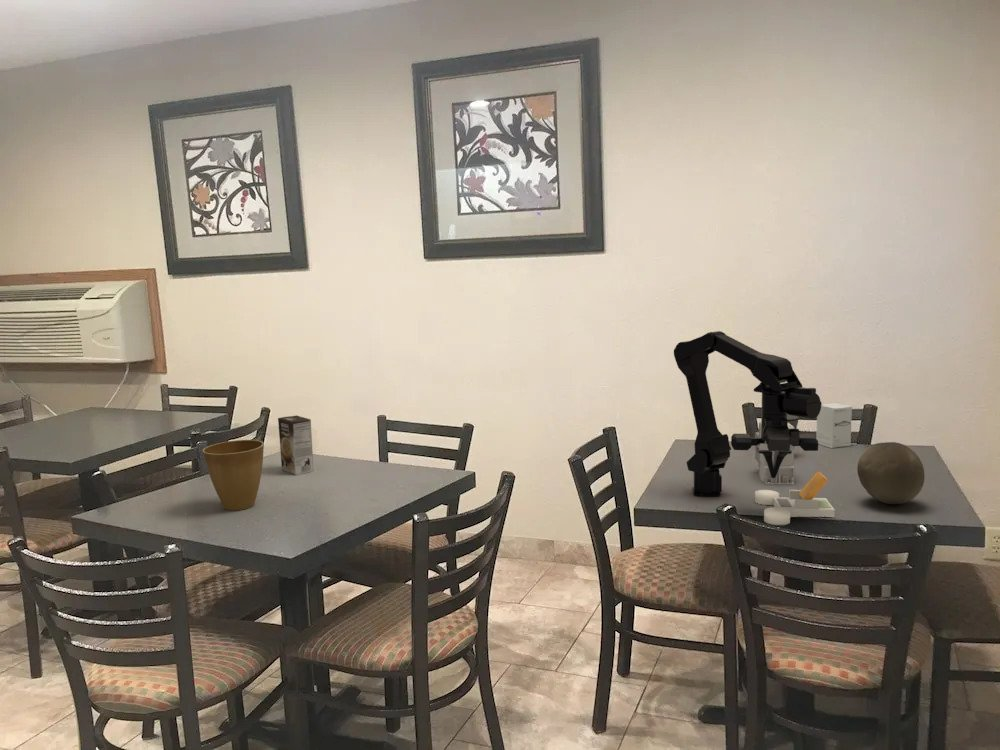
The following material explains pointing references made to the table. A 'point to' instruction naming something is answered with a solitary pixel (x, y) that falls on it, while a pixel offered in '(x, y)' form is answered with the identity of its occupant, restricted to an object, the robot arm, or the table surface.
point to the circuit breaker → (785, 469)
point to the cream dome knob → (765, 497)
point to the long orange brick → (813, 486)
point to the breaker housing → (804, 505)
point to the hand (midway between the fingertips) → (773, 477)
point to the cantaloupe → (891, 472)
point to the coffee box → (296, 444)
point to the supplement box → (834, 425)
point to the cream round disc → (777, 516)
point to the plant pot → (235, 471)
